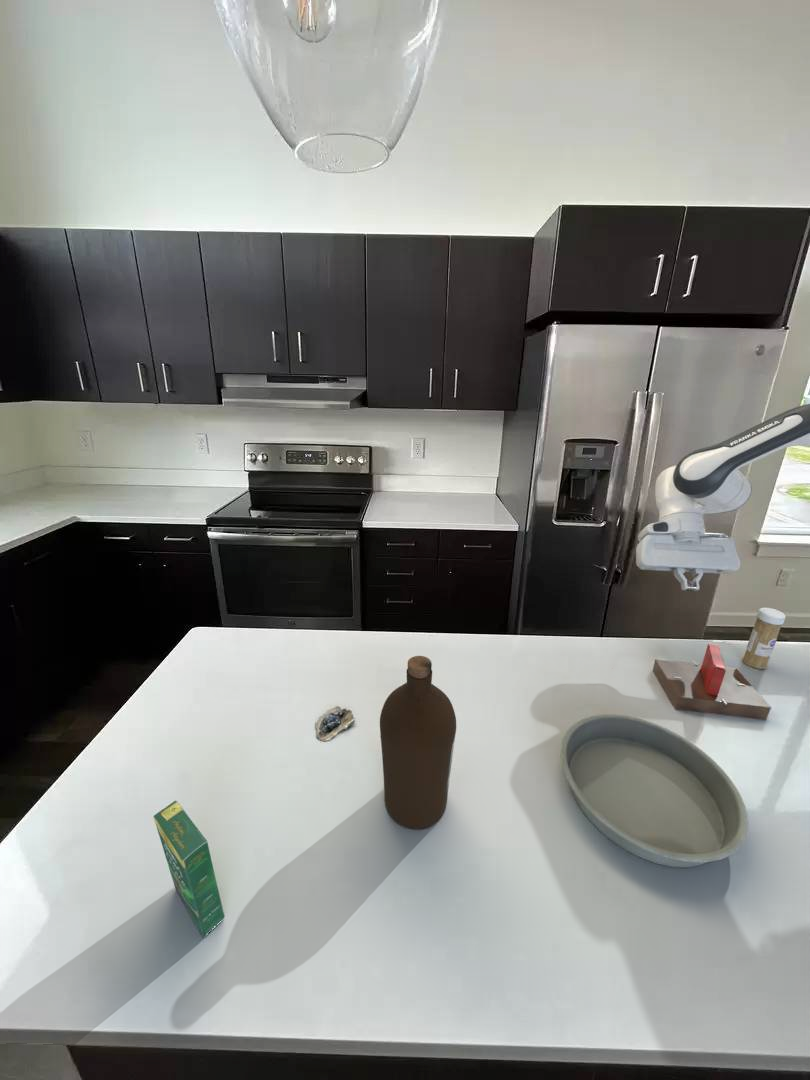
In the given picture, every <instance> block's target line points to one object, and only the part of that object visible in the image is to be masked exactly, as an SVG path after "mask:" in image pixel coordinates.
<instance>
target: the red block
mask: <svg viewBox="0 0 810 1080" xmlns="http://www.w3.org/2000/svg"><path fill="white" fill-rule="evenodd" d="M701 664H702V666H701V670H702V675H703V679H704V684H705V688H706V693H707V694H711V695H715V696H718V693H719V690H720V687H721V684H722V681H723V678H724V675H725V672H726V669H725V667H726V666H725V663H724V659H723V656H722V653H721V650H720V647H719V645H715V644H711V643H708V644H707V646H706V650H705V653H704V657H703V659H702V663H701Z"/></svg>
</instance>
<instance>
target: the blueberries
mask: <svg viewBox="0 0 810 1080" xmlns="http://www.w3.org/2000/svg"><path fill="white" fill-rule="evenodd" d="M355 721H356V720H355V717H354V714H353V710H350V709H347V708H341V706H340V705H338V706H337V705H336V706H334V707H332V708H330V709H328V710H326V712H324V713H323V714H322V715H321V716H319V717H318V719H317V721H316V722H314V723H315V725H314V726H315V727H314V728H315V729H316V730H315V732H316V738H317V739H318V740H319V741H323V742H327V741H331V740H332V738H334V737H336V736H337V735H338V733H339V732H340V733H342V731H343V730H344V729H345V730H346V729H348V727H350V726H353V725H354V724H355Z"/></svg>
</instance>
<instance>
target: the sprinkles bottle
mask: <svg viewBox="0 0 810 1080" xmlns="http://www.w3.org/2000/svg"><path fill="white" fill-rule="evenodd" d="M786 617H787V616H786V614H785V613H784V612H782V611H780V610H778V609H775V608H771V607H761V608H759V609H758V611H757V613H756V620H755V623H754V626H753V628H752V631H751V634H750V636H749V639H748V642H747V644H746V650H745V652H744V656H743V657H742V661H743V663H744V664H745V665H747V666H749V667H751V668H754V669H757V670H758V669H759V670H764V669H767V668H768V663H769V661H770V658H771V656H772V654H773V651H774V649H775V645H776V644H777V639H778V637H779V634H780V630H781V628H782V626H783V625H784V623H785V620H786Z"/></svg>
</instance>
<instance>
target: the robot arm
mask: <svg viewBox="0 0 810 1080" xmlns="http://www.w3.org/2000/svg"><path fill="white" fill-rule="evenodd" d="M797 446H810V403H805V404H802V405H798V406H796V407H793V408H790V409H788V410H785V411H784V412H781V413H779V414H777V415H775V416H772V417H771V418H768V419H766V420H764V421H762V422H760V423H758V424H756V425H754V426H752V427H750V428H748V429H746V430H743V431H742V432H740V433H738V434H736V435H734V436H732V437H729V438H728V439H726V440H723V441H721V442H719V443H715V444H713V445H710V446H705V447H702V448H699V449H695V450H693V451H691V452H689V453H688V454H686V455H685V456H684V457H682V458H681V459H680V460H679V462H678V463H677V464H675V465H673V466H670V467H668V468H665V469H664V470H662V471H661V472H660V473H659V474H658V476H657V477H656V480H655V486H654V494H655V505H656V509H657V511H658V514H659V517H658V521H655V522H652V523H649V524H647V525H646V526H644V528H642V530H641V531H640V532H639V533H638V535H637V540H638V543H637V545H636V547H635V564H636V566H637V567H638V569H639V570H644V571H661V572H673V576H674V577H675V579H676V580H677V581H678V582H679V584H680V587H681V588H680V589H681V591H691V592H697V591H699V590H700V581H701V579H702V577H703V576H704V574H720V575H731V574H733V573H735V572H737V571H739V569H740V568H741V566H742V565H741V560H740V557H739V554H738V551H737V549H736V545H735V540H734V538H733V537H731V536H729V535H727V534H726V533H722V532H719V533H715V532H706V525H705V520H704V515H715V514H716V515H717V514H723V513H730V512H734V511H736V510H738V509H740V508H741V507H742V506H744V505H745V504H746V503H747V501H749V499H750V497H751V495H752V491H753V490H752V489H753V488H752V487H753V486H752V483H751V482H750V480H749V478H747V477H746V476H745V474H743V472H741V471H740V469H741V468H743V467H745V466H747V465H749V464H751V463H755V462H756V461H759V460H761V459H764V458H766V457H767V456H769V455H772V454H774V453H776V452H778V451H781V450H784V449H786V448H790V447H797ZM685 573H690V574H691V577H694V578H693V580H688V579H687V578H686V576H685V575H684V574H685Z"/></svg>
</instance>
